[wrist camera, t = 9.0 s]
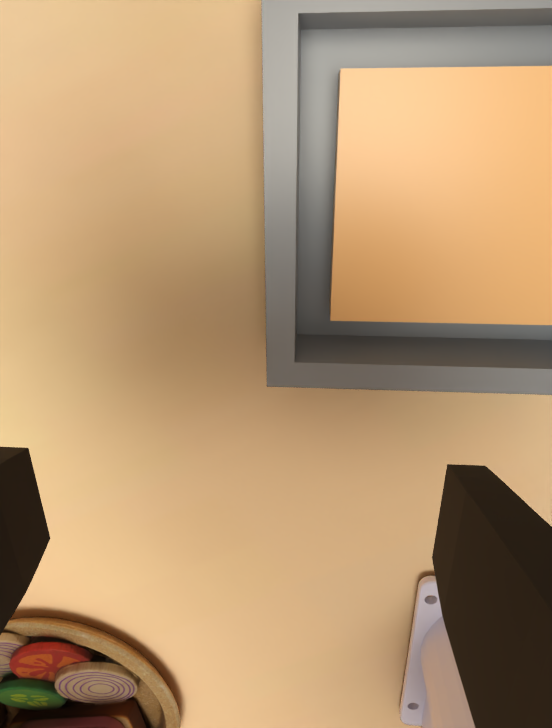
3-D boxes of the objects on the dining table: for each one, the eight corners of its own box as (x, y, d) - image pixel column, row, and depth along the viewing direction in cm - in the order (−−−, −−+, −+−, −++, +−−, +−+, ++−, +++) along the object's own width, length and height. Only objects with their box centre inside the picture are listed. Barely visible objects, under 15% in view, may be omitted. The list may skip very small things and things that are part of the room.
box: (573, 354, 17) (621, 396, 15) (274, 346, 18) (266, 386, 15) (667, -9, 13) (758, -44, 10) (272, -1, 14) (261, -31, 11)
